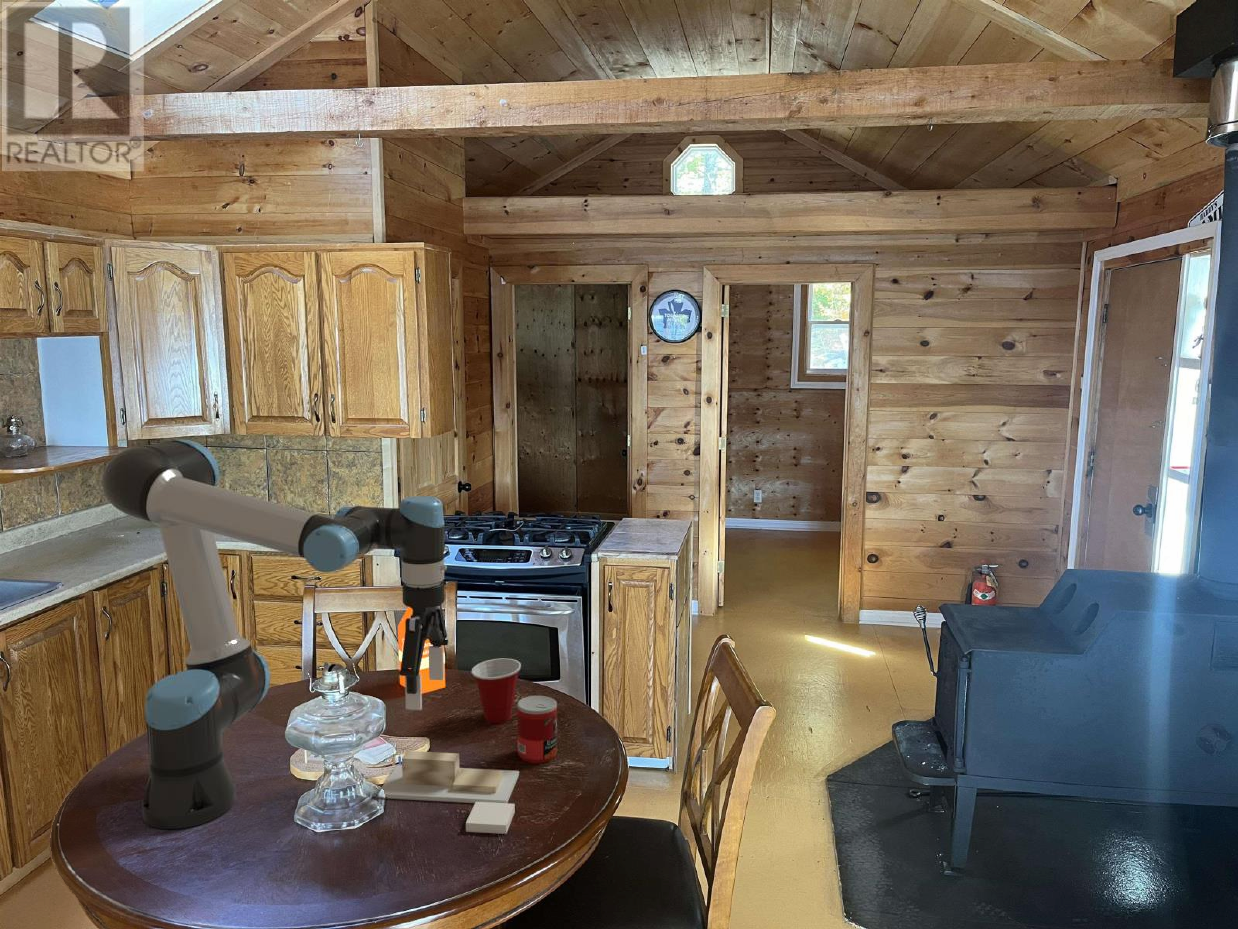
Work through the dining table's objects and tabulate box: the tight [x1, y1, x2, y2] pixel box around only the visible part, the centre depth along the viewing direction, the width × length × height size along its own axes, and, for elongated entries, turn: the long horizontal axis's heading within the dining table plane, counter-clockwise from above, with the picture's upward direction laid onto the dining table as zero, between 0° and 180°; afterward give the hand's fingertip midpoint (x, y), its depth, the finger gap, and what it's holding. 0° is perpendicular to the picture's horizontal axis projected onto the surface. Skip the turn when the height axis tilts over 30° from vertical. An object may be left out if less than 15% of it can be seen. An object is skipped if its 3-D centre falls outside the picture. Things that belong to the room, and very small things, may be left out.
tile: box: [465, 802, 516, 835], centre depth 155 cm, size 2×7×7 cm
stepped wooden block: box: [401, 750, 503, 793], centre depth 166 cm, size 18×6×5 cm, turn 84°
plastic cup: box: [471, 657, 522, 724], centre depth 195 cm, size 11×11×12 cm
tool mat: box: [380, 764, 520, 804], centre depth 167 cm, size 24×11×1 cm, turn 85°
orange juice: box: [397, 607, 446, 694], centre depth 213 cm, size 8×9×20 cm
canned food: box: [516, 695, 558, 764], centre depth 179 cm, size 8×8×11 cm
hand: (425, 693), depth 165 cm, fingers open, 13 cm apart
